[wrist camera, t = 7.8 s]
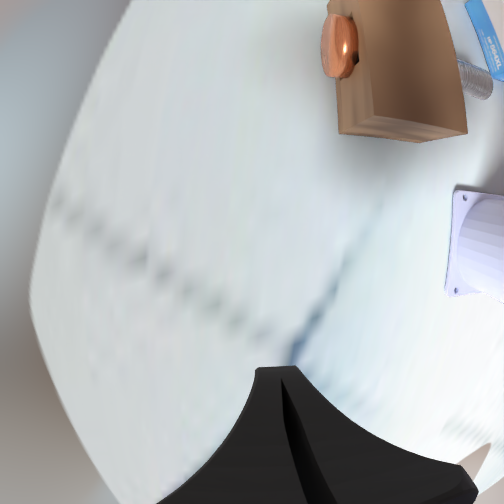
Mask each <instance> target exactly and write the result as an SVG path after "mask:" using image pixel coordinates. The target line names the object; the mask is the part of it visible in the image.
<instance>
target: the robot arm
mask: <svg viewBox="0 0 504 504" xmlns="http://www.w3.org/2000/svg"><path fill="white" fill-rule="evenodd" d="M463 195H464V200H463ZM455 288H456V290H455V291H454V289H455ZM476 293H484V294H486V295H488V296H490V297H492V298H494V299H496V300H498V301H500V302H502V303H503V304H504V196H501V195H494V194H487V193H480V192H472V191H464V190H456V191H455V192H454V194H453V216H452V232H451V244H450V254H449V263H448V271H447V278H446V285H445V294H446V295H447V296H448V297H454V296H461V295H469V294H476ZM478 492H479V491H478V489H477V487H476V485H475V484H474V482H473V481H472V479H471V478H470V476H469V475H468V474H467V472H466V471H465V470H464V468H463V467H462V466H461V465H456V464H451V463H447V462H442V461H438V460H434V459H430V458H426V457H423V456H420V455H418V454H415V453H412V452H409V451H406V450H404V449H402V448H399V447H397V446H395V445H393V444H391V443H389V442H387V441H385V440H383V439H381V438H379V437H377V436H375V435H373V434H372V433H370V432H368V431H367V430H365V429H363V428H362V427H360V426H359V425H357V424H356V423H354V422H353V421H352V420H350V419H349V418H348V417H346V416H345V415H344V414H343V413H342V412H340V411H339V410H338V409H337V408H336V407H335V406H333V405H332V404H331V403H330V402H329V401H328V400H327V399H326V398H325V397H324V396H323V395H322V394H321V393H320V392H319V391H318V390H317V389H316V388H315V387H314V386H313V385H312V384H311V383H310V381H309V380H308V379H307V378H306V377H305V376H304V374H303V373H302V372H301V371H300V370H299V368H298V367H296V366H279V367H258V368H257V369H256V370H255V378H254V382H253V386H252V389H251V392H250V394H249V397H248V399H247V402H246V404H245V406H244V408H243V410H242V412H241V414H240V416H239V418H238V419H237V421H236V423H235V425H234V426H233V428H232V430H231V431H230V433H229V434H228V436H227V437H226V439H225V440H224V441H223V443H222V444H221V445H220V447H219V448H218V449H217V450H216V451H215V453H214V454H213V455H212V456H211V457H210V459H209V460H208V461H207V462H206V463H205V464H204V465H203V466H202V467H201V468H200V469H199V470H198V471H197V472H196V473H195V474H194V475H193V476H192V477H190V478H189V479H188V480H187V481H186V482H185V483H184V484H183V485H181V486H180V487H179V488H178V489H177V490H175V491H174V492H172V493H171V494H170V495H168V496H167V497H165V498H164V499H163V500H161V501H160V502H158V503H157V504H473V503H474V501H475V499H476V497H477V495H478Z"/></svg>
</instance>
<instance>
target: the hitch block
mask: <svg viewBox="0 0 504 504" xmlns="http://www.w3.org/2000/svg"><path fill="white" fill-rule="evenodd" d="M327 10H328V15H330V14H336V15H343V16H348V17H351V18H352V19H353V20H354V22H355V24H356V27H357V31H358V40H359V46H358V53H359V62H358V63H357V64H356V65H355V68H354V70H353V72H352V74H351V75H350V77H348V78H337V77H335V80H336V93H337V108H338V127H339V134H347V135H358V136H368V137H378V138H386V139H394V140H401V141H408V142H415V143H422V142H427V141H432V140H437V139H442V138H447V137H452V136H458V135H464V134H468V130H467V120H466V111H465V103H464V96H463V90H462V84H461V78H460V73H459V68H458V63H457V58H456V54H455V50H454V45H453V41H452V38H451V34H450V30H449V27H448V23H447V20H446V17H445V13H444V10H443V7H442V4H441V1H440V0H330V1H329V3H328V5H327Z"/></svg>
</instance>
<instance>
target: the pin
mask: <svg viewBox="0 0 504 504" xmlns="http://www.w3.org/2000/svg"><path fill="white" fill-rule="evenodd" d="M358 46H359V40H358V31H357V27H356V24H355V22H354V20H353V19H352V18H351V17H348V16H343V15H336V14H330V15H328V17H327V18H326V20H325V23H324V26H323V31H322V38H321V59H322V66H323V70H324V72H325V74H326V75H327V76H329V77H337V78H348V77H350V75H351V74H352V72H353V70H354V68H355V65H356V64H357V63H358V62H359V53H358ZM457 63H458V68H459V73H460V78H461V84H462V90H463V93H464V94H467V95H470V96H473V97H475V98H478V99H481V100H485V99H487V98H489V96H490V95H491V93H492V90H493V81H492V77H491V75H490V74H489V73H488V72H487V71H486V70H484V69H481V68H479V67H477V66H474V65H472V64H470V63H467V62H465V61H462V60H460V59H457Z"/></svg>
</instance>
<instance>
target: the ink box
mask: <svg viewBox="0 0 504 504" xmlns="http://www.w3.org/2000/svg"><path fill="white" fill-rule="evenodd" d="M465 7H466V9H467V11H468V13H469V16H470V18H471V20H472V23H473V25H474V28H475V30H476V33H477V35H478V38H479V41H480V44H481V47H482V49H483V52H484V55H485V58H486V61H487V64H488V68H489V71H490V74H491V77H492V78H495V79H498V80H500V81H503V82H504V0H469V1H468V2H467V3H465Z"/></svg>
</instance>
